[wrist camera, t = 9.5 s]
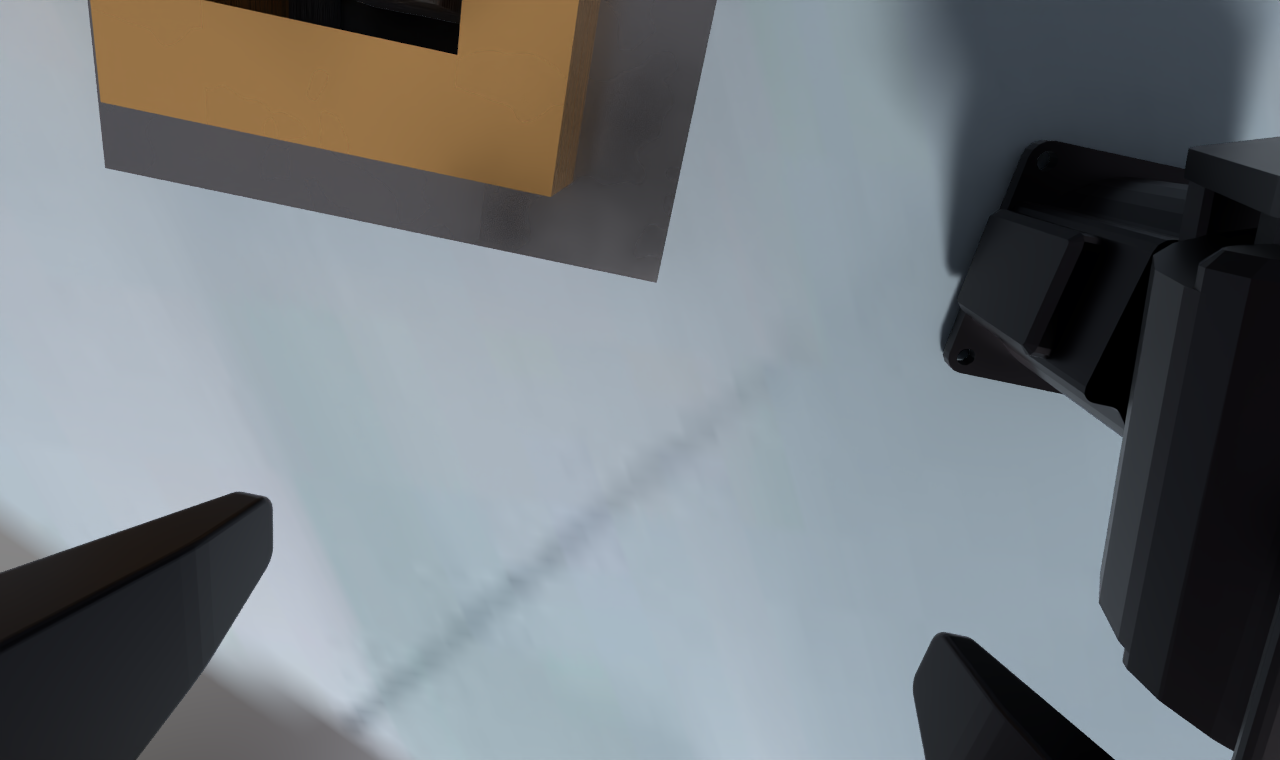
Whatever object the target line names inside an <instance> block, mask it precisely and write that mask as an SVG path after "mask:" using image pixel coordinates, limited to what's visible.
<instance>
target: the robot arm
mask: <svg viewBox="0 0 1280 760" xmlns="http://www.w3.org/2000/svg"><path fill="white" fill-rule="evenodd" d="M1045 151H1046V152H1048V154H1049V163H1048V164H1047V165H1046V167H1044V168H1043V169H1041V170H1039V169H1038V167H1037V159H1038V157H1039V156H1040V155H1041V154H1042V153H1044V152H1045ZM957 301H958V303H959V305H960V307H961V308H960V311H959V313H958V316H957V318H956V321H955V323H954V326H953V328H952V331H951V333H950V336H949V338H948V341H947V343H946V346H945V348H944V353H943V357H944V360H945V362H946V363H947V364H948V365H949V366H950V367H951V368H952V369H953V370H954V371H957V372H959V373H963V374H968V375H973V376H978V377H983V378H988V379H992V380H997V381H1002V382H1007V383H1012V384H1017V385H1021V386H1026V387H1031V388H1036V389H1041V390H1046V391H1050V392H1055V393H1060V394H1064V395H1065V396H1067V397H1068V398H1069V399H1071V400H1072V401H1073V402H1075V403H1076V404H1078V405H1079V406H1080V407H1082V408H1083V409H1084V410H1086V411H1087V412H1089V413H1090V414H1091V415H1093V416H1094V417H1095V418H1097V419H1098V420H1100V421H1101V422H1102V423H1104V424H1105V425H1106V426H1108V427H1109V428H1110V429H1112V430H1113V431H1115V432H1116V433H1117V434H1119V435H1120V436H1121V437H1123V439H1122V445H1121V451H1120V457H1119V463H1118V469H1117V475H1116V481H1115V487H1114V493H1113V499H1112V505H1111V511H1110V517H1109V523H1108V529H1107V535H1106V541H1105V547H1104V553H1103V559H1102V565H1101V571H1100V590H1099V604H1100V606H1101V608H1102V610H1103V612H1104V614H1105V615H1106V617H1107V619H1108V621H1109V623H1110V625H1111V627H1112V629H1113V631H1114V633H1115V635H1116V637H1117V639H1118V641H1119V642H1120V643H1121V644H1122V646H1123V647H1124V648H1125V649H1124V654H1123V663H1124V665H1125V667H1126V669H1127V670H1128V671H1129V672H1130V673H1132V674H1133V675H1134V676H1135V677H1136V678H1137V679H1138V680H1139V681H1140V682H1141V683H1142V684H1143V685H1144V686H1145V687H1146V688H1147V689H1148V690H1149V691H1150V692H1151V693H1152V694H1153V695H1154V696H1155V697H1156V698H1157V699H1158V700H1159V701H1161V702H1162V703H1163V704H1165V705H1166V706H1167V707H1169V708H1170V709H1171V710H1173V711H1174V712H1176V713H1177V714H1178V715H1180V716H1181V717H1183V718H1184V719H1185V720H1187V721H1188V722H1190V723H1191V724H1192V725H1194V726H1195V727H1196V728H1198V729H1199V730H1201V731H1202V732H1203V733H1205V734H1206V735H1208V736H1209V737H1210V738H1212V739H1213V740H1215V741H1216V742H1218V743H1220V744H1222V745H1223V746H1225V747H1227V748H1229V749H1231V750H1232V751H1234V753H1233V757H1232V760H1280V137H1273V138H1264V139H1255V140H1247V141H1238V142H1229V143H1221V144H1212V145H1203V146H1195V147H1190V148H1189V149H1188V155H1187V161H1186V167H1185V169H1182V168H1177V167H1173V166H1168V165H1163V164H1159V163H1154V162H1150V161H1145V160H1141V159H1136V158H1131V157H1127V156H1122V155H1118V154H1113V153H1108V152H1104V151H1099V150H1095V149H1090V148H1085V147H1081V146H1076V145H1072V144H1067V143H1063V142H1058V141H1050V140H1039V141H1037V142H1034V143H1032V144H1031V145H1029V146H1028V147H1027V148H1026V149H1025V150H1024V152H1023V154H1022V155H1021V157H1020V160H1019V162H1018V165H1017V167H1016V170H1015V172H1014V175H1013V177H1012V180H1011V182H1010V185H1009V188H1008V190H1007V193H1006V195H1005V198H1004V200H1003V203H1002V205H1001V208H1000V210H998V211H997V212H995V213H994V214H992V215H991V216H990V217H989V220H988V222H987V225H986V227H985V230H984V232H983V235H982V237H981V240H980V242H979V245H978V248H977V250H976V253H975V255H974V258H973V260H972V263H971V265H970V268H969V270H968V273H967V275H966V278H965V281H964V283H963V286H962V288H961V291H960V293H959V296H958V299H957ZM964 349H970V351H969V355H968V356H967V358H965V359H963V360H957V355H958V354H959V352H960V351H962V350H964ZM272 552H273V508H272V503H271V501H270V500H269V499H268V498H267V497H265V496H260V495H255V494H250V493H245V492H234V493H230V494H228V495H225V496H222V497H219V498H216V499H213V500H210V501H207V502H204V503H201V504H199V505H196V506H193V507H190V508H187V509H184V510H181V511H178V512H175V513H172V514H170V515H167V516H164V517H161V518H158V519H155V520H152V521H149V522H146V523H143V524H140V525H138V526H135V527H132V528H129V529H126V530H123V531H120V532H117V533H114V534H111V535H109V536H106V537H103V538H100V539H97V540H94V541H91V542H88V543H85V544H82V545H80V546H77V547H74V548H71V549H68V550H65V551H62V552H59V553H56V554H53V555H50V556H48V557H45V558H42V559H39V560H36V561H33V562H30V563H27V564H24V565H22V566H19V567H16V568H13V569H10V570H7V571H4V572H1V573H0V760H136V759H137V758H138V757H139V755H140V754H141V753H142V751H143V750H144V749H145V747H146V746H147V745H148V744H149V742H150V741H151V739H152V738H153V737H154V736H155V734H156V733H157V731H158V730H159V729H160V728H161V726H162V725H163V724H164V723H165V721H166V720H167V718H168V717H169V716H170V715H171V713H172V712H173V711H174V709H175V708H176V707H177V705H178V704H179V703H180V701H181V700H182V699H183V698H184V696H185V694H187V692H188V691H189V690H190V688H191V687H192V685H193V684H194V683H195V681H196V680H197V679H198V677H199V676H200V675H201V673H202V672H203V670H204V669H205V667H206V666H207V664H208V663H209V661H210V660H211V658H212V656H213V655H214V653H215V652H216V650H217V649H218V647H219V645H220V644H221V642H222V640H223V639H224V637H225V635H226V634H227V632H228V631H229V629H230V627H231V626H232V624H233V622H234V621H235V619H236V617H237V616H238V614H239V613H240V611H241V609H242V608H243V606H244V604H245V603H246V601H247V599H248V598H249V596H250V595H251V593H252V591H253V590H254V588H255V586H256V585H257V583H258V581H259V580H260V578H261V576H262V575H263V573H264V572H265V570H266V568H267V566H268V564H269V562H270V559H271V556H272ZM913 695H914V701H915V707H916V712H917V717H918V723H919V728H920V733H921V739H922V744H923V749H924V755H925V760H1115V759H1113V758H1112V757H1111V756H1110V755H1109V754H1108V753H1106V752H1105V751H1104V750H1103V749H1102V748H1100V747H1099V746H1098V745H1097V744H1096V743H1095V742H1093V741H1092V740H1091V739H1090V738H1089V737H1087V736H1086V735H1085V734H1084V733H1083V732H1082V731H1080V730H1079V729H1078V728H1077V727H1076V726H1074V725H1073V724H1072V723H1071V722H1070V721H1069V720H1067V719H1066V718H1065V717H1064V716H1063V715H1061V714H1060V713H1059V712H1058V711H1057V710H1056V709H1054V708H1053V707H1052V706H1051V705H1050V704H1048V703H1047V702H1046V701H1045V700H1044V699H1043V698H1041V697H1040V696H1039V695H1038V694H1037V693H1035V692H1034V691H1033V690H1032V689H1031V688H1030V687H1028V686H1027V685H1026V684H1025V683H1024V682H1022V681H1021V680H1020V679H1019V678H1018V677H1017V676H1015V675H1014V674H1013V673H1012V672H1011V671H1009V670H1008V669H1007V668H1006V667H1005V666H1004V665H1002V664H1001V663H1000V662H999V661H998V660H996V659H995V658H994V657H993V656H992V655H991V654H989V653H988V652H987V651H986V650H985V649H983V648H982V647H981V646H980V645H979V644H978V643H976V642H975V641H974V640H973V639H971V638H969V637H966V636H961V635H956V634H951V633H946V632H941V633H938V634H936V635H935V636H934V638H933V639H932V641H931V643H930V645H929V647H928V649H927V651H926V653H925V655H924V657H923V660H922V662H921V664H920V666H919V668H918V670H917V672H916V674H915V677H914V681H913Z"/></svg>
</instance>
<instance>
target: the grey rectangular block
mask: <svg viewBox="0 0 1280 760" xmlns="http://www.w3.org/2000/svg"><path fill="white" fill-rule="evenodd" d="M355 1H358V2H361V3H364V4H367V5H370V6H372V7H376V8H381V9H386V10H391V11H396V12H401V13H406V14H411V15H417V16H422V17H427V18H432V19H437V20H442V21H447V22H452V23H458V24H460V19H461V7H462V0H355Z"/></svg>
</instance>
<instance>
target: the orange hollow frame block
mask: <svg viewBox="0 0 1280 760" xmlns="http://www.w3.org/2000/svg"><path fill="white" fill-rule="evenodd" d="M716 1H717V0H462V7H461V19H460V31H459V43H458V55H455V54H450V53H446V52H441V51H437V50H432V49H427V48H423V47H418V46H413V45H409V44H404V43H400V42H395V41H390V40H386V39H381V38H376V37H372V36H367V35H363V34H358V33H353V32H349V31H344V30H340V20H341V0H88V7H89V16H90V26H91V36H92V45H93V55H94V64H95V74H96V83H97V93H98V102H99V112H100V121H101V131H102V141H103V150H104V160H105V168H108V169H113V170H118V171H123V172H128V173H132V174H137V175H142V176H147V177H152V178H157V179H161V180H166V181H171V182H176V183H181V184H185V185H190V186H195V187H200V188H205V189H209V190H214V191H219V192H224V193H229V194H233V195H238V196H243V197H248V198H253V199H257V200H262V201H267V202H272V203H277V204H281V205H286V206H291V207H296V208H301V209H305V210H310V211H315V212H320V213H325V214H329V215H334V216H339V217H344V218H349V219H354V220H358V221H363V222H368V223H373V224H378V225H382V226H387V227H392V228H397V229H402V230H406V231H411V232H416V233H421V234H426V235H430V236H435V237H440V238H445V239H450V240H454V241H459V242H464V243H469V244H474V245H478V246H483V247H488V248H493V249H498V250H502V251H507V252H512V253H517V254H522V255H526V256H531V257H536V258H541V259H546V260H551V261H555V262H560V263H565V264H570V265H575V266H579V267H584V268H589V269H594V270H599V271H603V272H608V273H613V274H618V275H623V276H627V277H632V278H637V279H642V280H647V281H651V282H656V283H657V278H658V273H659V269H660V264H661V259H662V255H663V250H664V245H665V240H666V236H667V231H668V226H669V222H670V217H671V212H672V208H673V203H674V198H675V193H676V189H677V184H678V179H679V175H680V170H681V165H682V161H683V156H684V151H685V147H686V142H687V137H688V132H689V128H690V123H691V118H692V114H693V109H694V104H695V100H696V95H697V90H698V86H699V81H700V76H701V71H702V67H703V62H704V57H705V53H706V48H707V43H708V39H709V34H710V29H711V25H712V20H713V15H714V10H715V6H716Z"/></svg>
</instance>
